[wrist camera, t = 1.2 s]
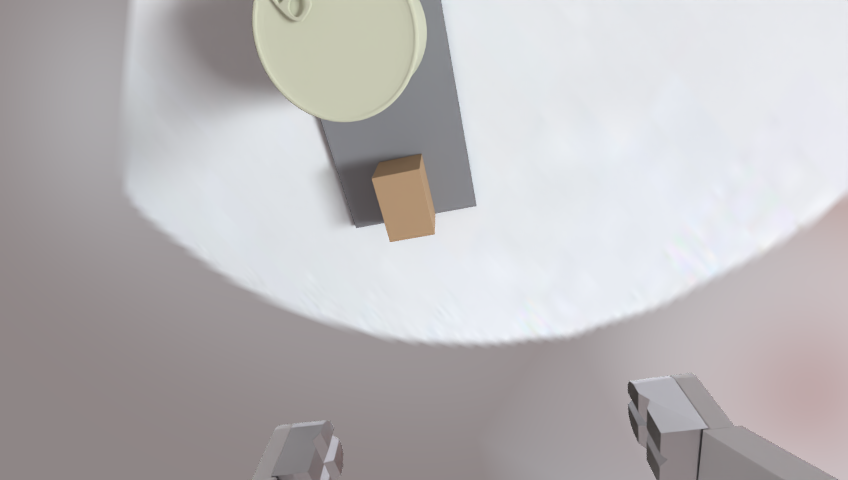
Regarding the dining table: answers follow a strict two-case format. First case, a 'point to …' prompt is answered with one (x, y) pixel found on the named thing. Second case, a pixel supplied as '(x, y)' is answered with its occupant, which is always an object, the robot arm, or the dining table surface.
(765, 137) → the dining table surface
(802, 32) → the dining table surface
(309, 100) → the can
